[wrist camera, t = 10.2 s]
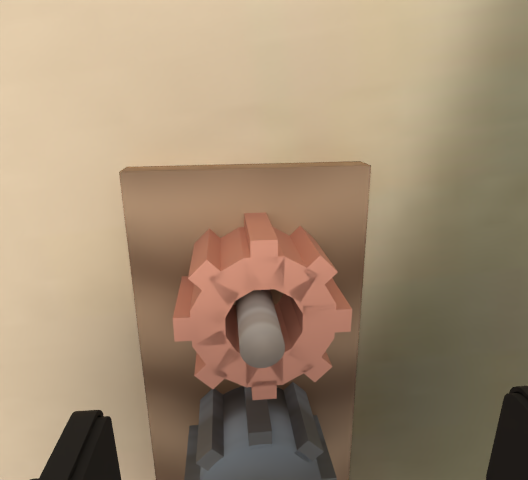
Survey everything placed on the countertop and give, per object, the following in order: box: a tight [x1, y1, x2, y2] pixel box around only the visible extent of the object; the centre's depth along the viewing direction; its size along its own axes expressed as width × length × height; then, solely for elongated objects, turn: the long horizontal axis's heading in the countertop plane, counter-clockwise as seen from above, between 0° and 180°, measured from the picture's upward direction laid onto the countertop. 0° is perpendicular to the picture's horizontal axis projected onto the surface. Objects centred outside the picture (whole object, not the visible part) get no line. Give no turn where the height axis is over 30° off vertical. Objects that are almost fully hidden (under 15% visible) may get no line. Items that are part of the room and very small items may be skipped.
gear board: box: [119, 161, 371, 480], centre depth 19 cm, size 22×11×8 cm, turn 0°
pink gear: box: [173, 213, 352, 400], centre depth 18 cm, size 7×7×4 cm
